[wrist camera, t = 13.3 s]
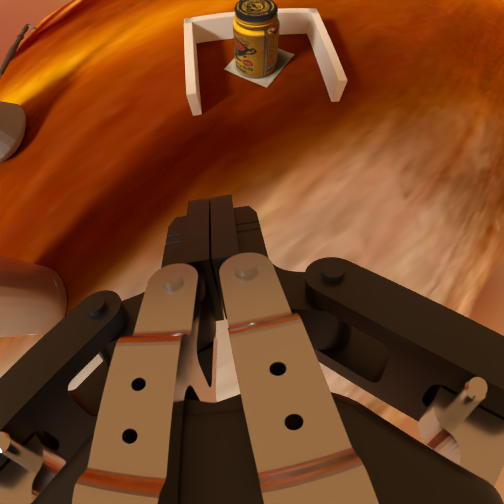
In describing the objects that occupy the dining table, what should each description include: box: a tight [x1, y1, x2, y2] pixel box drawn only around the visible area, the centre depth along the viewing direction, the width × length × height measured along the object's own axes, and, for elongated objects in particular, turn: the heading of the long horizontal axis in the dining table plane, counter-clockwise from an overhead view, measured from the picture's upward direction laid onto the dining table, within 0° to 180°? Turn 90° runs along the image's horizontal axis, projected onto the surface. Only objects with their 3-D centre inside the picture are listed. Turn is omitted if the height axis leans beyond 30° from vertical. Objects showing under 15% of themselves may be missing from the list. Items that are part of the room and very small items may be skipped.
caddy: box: [184, 8, 347, 116], centre depth 39 cm, size 20×16×5 cm
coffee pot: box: [0, 24, 37, 163], centre depth 34 cm, size 21×12×15 cm, turn 140°
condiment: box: [224, 0, 295, 88], centre depth 36 cm, size 7×8×12 cm
